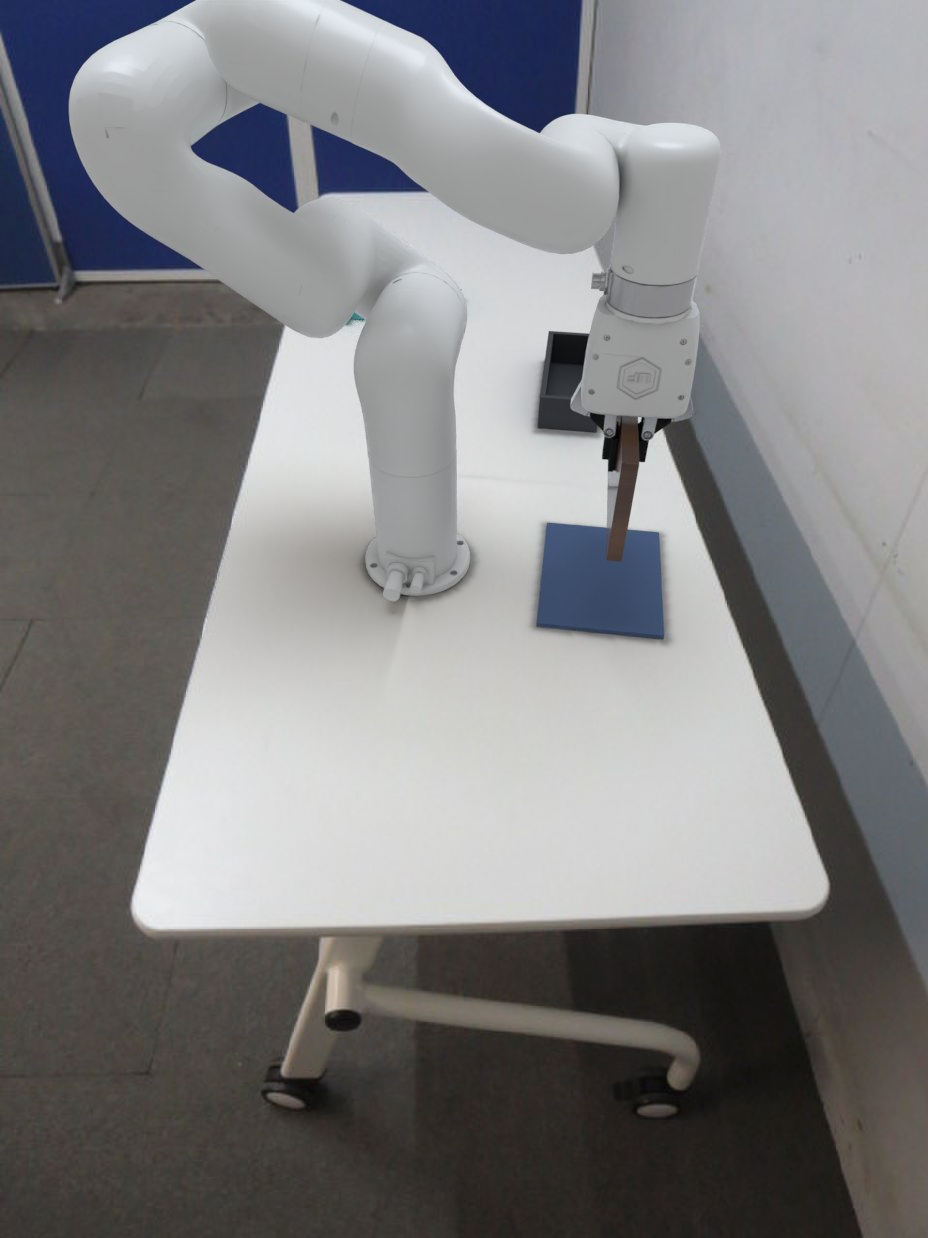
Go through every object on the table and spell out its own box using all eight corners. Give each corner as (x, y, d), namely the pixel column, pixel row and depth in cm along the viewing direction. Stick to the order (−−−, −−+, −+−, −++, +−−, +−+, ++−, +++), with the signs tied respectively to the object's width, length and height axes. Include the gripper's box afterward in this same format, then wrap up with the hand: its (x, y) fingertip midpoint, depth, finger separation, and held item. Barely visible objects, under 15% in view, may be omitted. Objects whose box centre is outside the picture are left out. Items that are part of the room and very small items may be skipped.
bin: (596, 435, 116) (600, 401, 112) (537, 431, 117) (539, 397, 113) (598, 366, 131) (603, 334, 127) (546, 363, 132) (548, 330, 128)
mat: (663, 639, 88) (664, 635, 88) (536, 626, 89) (536, 623, 89) (658, 535, 101) (659, 531, 100) (546, 525, 102) (547, 522, 101)
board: (621, 562, 82) (639, 464, 74) (606, 560, 83) (621, 462, 74) (621, 472, 93) (636, 377, 85) (607, 471, 94) (621, 376, 85)
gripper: (558, 303, 69) (544, 480, 82) (746, 313, 67) (701, 492, 80) (562, 267, 74) (548, 440, 87) (737, 276, 72) (696, 450, 85)
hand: (622, 464), depth 83 cm, fingers closed on board, 1 cm apart
